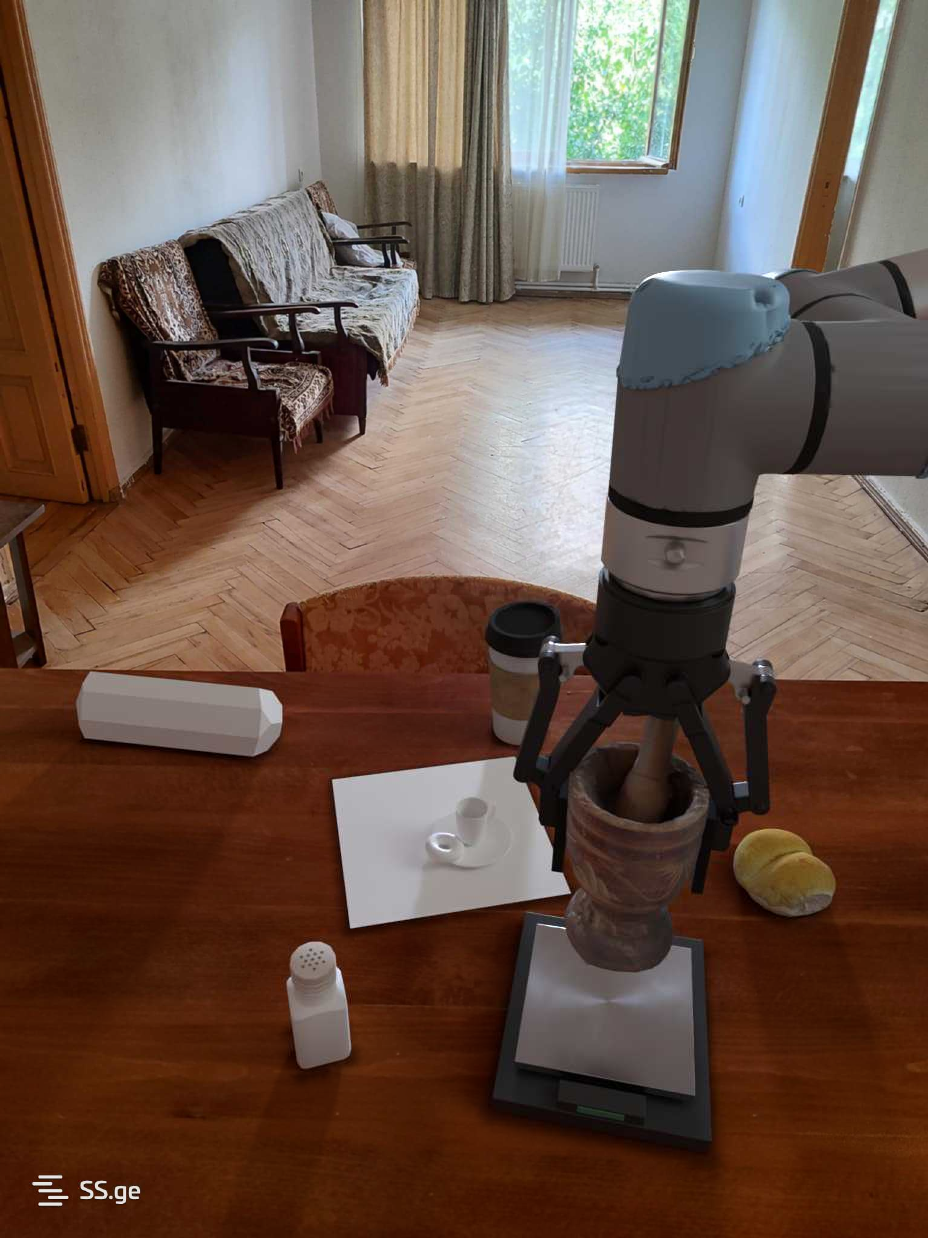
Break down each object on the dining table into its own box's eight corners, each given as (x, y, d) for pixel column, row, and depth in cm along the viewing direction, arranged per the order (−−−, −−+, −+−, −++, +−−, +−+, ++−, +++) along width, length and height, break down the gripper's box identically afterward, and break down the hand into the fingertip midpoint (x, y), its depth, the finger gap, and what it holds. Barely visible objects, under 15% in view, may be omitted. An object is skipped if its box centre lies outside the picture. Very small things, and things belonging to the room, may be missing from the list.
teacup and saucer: (430, 878, 81) (429, 845, 79) (416, 819, 88) (415, 787, 86) (521, 864, 83) (523, 832, 81) (501, 807, 90) (502, 776, 88)
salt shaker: (352, 1060, 66) (345, 976, 61) (299, 1074, 65) (287, 990, 60) (343, 1014, 69) (336, 931, 64) (292, 1027, 68) (280, 943, 63)
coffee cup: (571, 735, 100) (581, 621, 93) (511, 762, 96) (517, 644, 89) (525, 700, 106) (531, 590, 99) (468, 723, 102) (469, 610, 95)
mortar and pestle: (564, 846, 68) (581, 622, 58) (678, 860, 67) (716, 633, 57) (553, 972, 58) (572, 727, 48) (687, 990, 57) (735, 742, 47)
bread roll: (787, 839, 86) (795, 808, 84) (846, 907, 79) (856, 875, 77) (712, 856, 84) (719, 824, 82) (766, 928, 77) (774, 895, 75)
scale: (700, 952, 75) (705, 933, 73) (708, 1154, 60) (713, 1134, 59) (524, 923, 77) (526, 904, 76) (491, 1110, 63) (492, 1090, 61)
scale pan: (690, 955, 72) (691, 948, 71) (693, 1102, 61) (695, 1096, 61) (536, 929, 74) (536, 923, 74) (514, 1068, 63) (514, 1061, 63)
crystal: (50, 722, 95) (263, 745, 92) (74, 663, 99) (280, 683, 95) (80, 748, 101) (281, 771, 98) (102, 692, 105) (296, 712, 102)
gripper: (466, 583, 47) (462, 884, 59) (886, 626, 44) (796, 938, 55) (490, 527, 54) (482, 809, 65) (858, 561, 50) (783, 852, 62)
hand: (626, 868), depth 60 cm, fingers closed on mortar and pestle, 9 cm apart
